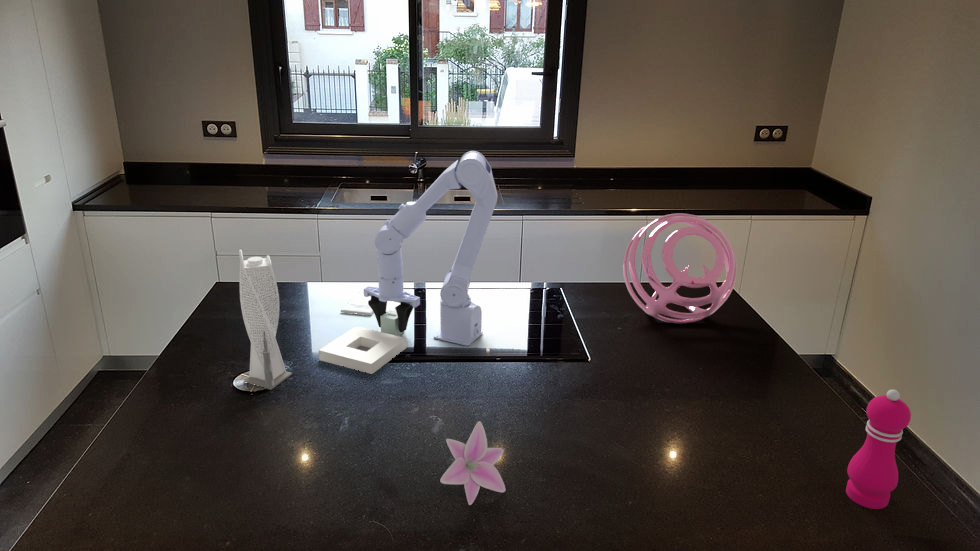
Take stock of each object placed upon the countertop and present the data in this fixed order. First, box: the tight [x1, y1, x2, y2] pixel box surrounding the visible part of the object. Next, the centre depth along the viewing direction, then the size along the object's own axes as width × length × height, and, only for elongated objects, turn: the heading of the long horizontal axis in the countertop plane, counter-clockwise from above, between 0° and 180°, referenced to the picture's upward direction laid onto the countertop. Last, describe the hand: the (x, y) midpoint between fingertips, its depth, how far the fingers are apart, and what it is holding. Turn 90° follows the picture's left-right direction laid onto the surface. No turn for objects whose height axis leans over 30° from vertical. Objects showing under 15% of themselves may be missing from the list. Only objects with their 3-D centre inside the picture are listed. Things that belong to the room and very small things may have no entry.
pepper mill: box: [845, 388, 912, 510], centre depth 109 cm, size 7×7×20 cm
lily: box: [439, 420, 506, 506], centre depth 112 cm, size 12×12×10 cm
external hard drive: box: [340, 291, 374, 316], centre depth 182 cm, size 2×8×12 cm
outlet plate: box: [318, 325, 408, 375], centre depth 156 cm, size 14×14×2 cm
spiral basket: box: [622, 212, 738, 324], centre depth 176 cm, size 28×28×27 cm
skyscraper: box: [238, 249, 293, 391], centre depth 141 cm, size 8×8×28 cm
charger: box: [380, 310, 405, 337], centre depth 166 cm, size 4×4×5 cm
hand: (392, 328), depth 166 cm, fingers open, 5 cm apart
